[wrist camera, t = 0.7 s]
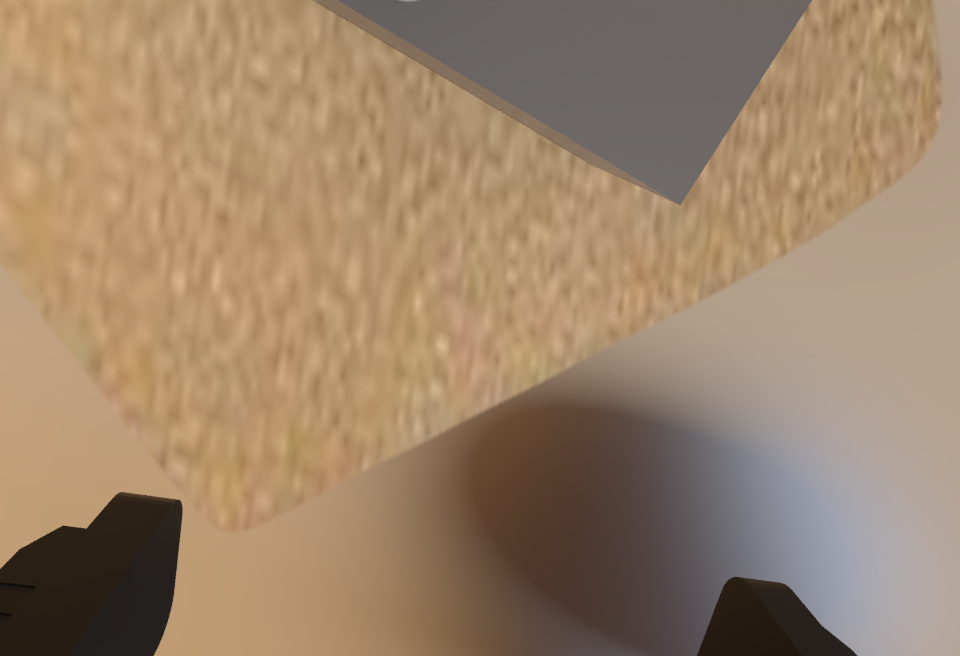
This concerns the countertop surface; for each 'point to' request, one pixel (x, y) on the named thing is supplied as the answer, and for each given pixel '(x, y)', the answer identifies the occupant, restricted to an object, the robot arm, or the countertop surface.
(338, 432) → the countertop surface
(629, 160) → the box
